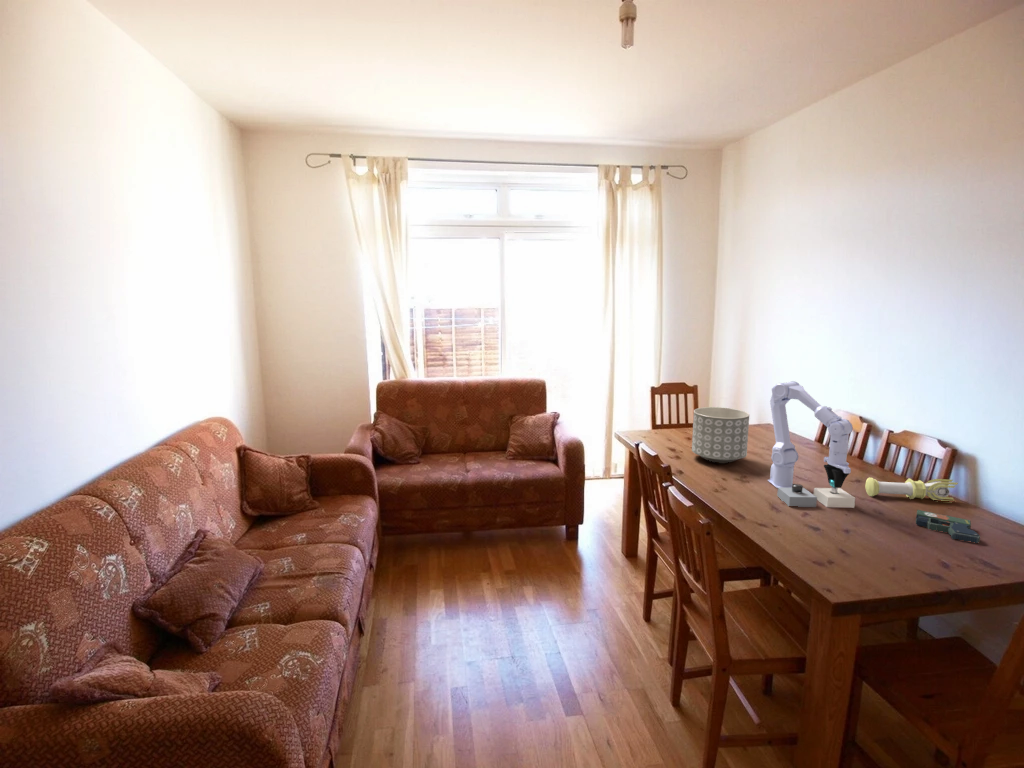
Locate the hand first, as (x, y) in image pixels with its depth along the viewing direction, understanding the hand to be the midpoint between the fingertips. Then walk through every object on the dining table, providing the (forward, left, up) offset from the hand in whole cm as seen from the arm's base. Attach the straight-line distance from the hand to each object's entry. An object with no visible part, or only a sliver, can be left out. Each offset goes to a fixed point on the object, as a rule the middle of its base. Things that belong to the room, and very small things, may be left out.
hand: (834, 485), depth 199 cm
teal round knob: (0, 0, -4) cm, 4 cm away
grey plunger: (0, -14, -6) cm, 15 cm away
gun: (+24, +24, -8) cm, 35 cm away
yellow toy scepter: (-6, +32, -7) cm, 33 cm away
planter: (-53, -26, -7) cm, 59 cm away
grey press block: (0, -14, -7) cm, 16 cm away
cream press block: (0, 0, -7) cm, 7 cm away
